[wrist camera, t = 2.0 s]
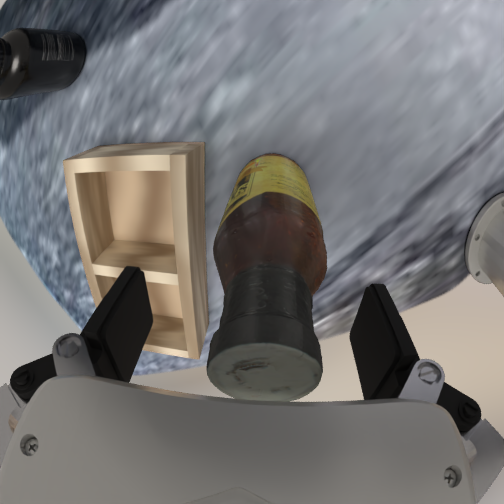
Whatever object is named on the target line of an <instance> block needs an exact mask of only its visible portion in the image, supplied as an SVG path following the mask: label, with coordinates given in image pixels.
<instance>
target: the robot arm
mask: <svg viewBox="0 0 504 504" xmlns="http://www.w3.org/2000/svg"><path fill="white" fill-rule="evenodd" d="M465 261H466V266H467V269H468V271H469V273H470V274H471V275H472V276H473V278H474V279H475V280H477V281H478V282H480V283H483V284H490V283H493V284H494V285H495V286H496V287H497V289H498V290H499V291H500V292H501V294H502V295H503V296H504V193H501V194H499V195H497V196H495V197H493V198H492V199H491V200H490V201H489V202H488V203H487V204H486V205H485V206H484V207H483V208H482V210H481V211H480V213H479V214H478V216H477V217H476V219H475V221H474V223H473V225H472V227H471V230H470V232H469V235H468V239H467V243H466V250H465ZM152 325H153V314H152V309H151V305H150V300H149V295H148V290H147V285H146V279H145V274H144V271H141V269H140V267H135V266H126V267H125V268H124V269H123V271H122V272H121V274H120V275H119V277H118V278H117V279H116V281H115V282H114V284H113V285H112V287H111V288H110V290H109V291H108V293H107V294H106V295H105V296H104V298H103V299H102V301H101V302H100V304H99V305H98V307H97V308H96V310H95V311H94V313H93V314H92V316H91V318H90V319H89V321H88V322H87V324H86V326H85V327H84V329H83V330H82V332H81V334H80V335H78V334H76V333H69V334H65V335H63V336H61V337H60V338H58V339H57V340H56V342H55V343H54V345H53V350H52V352H53V353H52V354H50V355H47V356H45V357H42V358H40V359H37V360H35V361H33V362H30V363H28V364H25V365H23V366H21V367H19V368H17V369H16V370H15V371H14V372H13V374H12V376H11V379H10V384H9V385H7V384H6V383H5V384H4V385H3V386H1V387H0V504H477V503H478V502H479V501H480V499H481V498H482V497H483V496H484V494H485V493H486V492H487V490H488V489H489V487H490V486H491V485H492V483H493V482H494V480H495V479H496V477H497V476H498V474H499V473H500V471H501V470H502V468H503V467H504V439H503V437H502V436H501V435H500V434H499V433H498V432H497V431H496V430H495V428H494V427H493V426H492V425H491V424H490V423H489V422H488V421H487V420H486V419H484V420H482V419H481V409H480V407H479V405H478V404H477V402H476V401H474V400H473V399H471V398H470V397H468V396H467V395H465V394H463V393H461V392H460V391H458V390H457V389H455V388H453V387H451V386H450V385H448V384H447V383H445V382H444V380H445V374H444V371H443V369H442V367H441V366H440V365H439V364H438V363H436V362H435V361H433V360H430V359H421V360H420V358H419V356H418V353H417V351H416V349H415V347H414V344H413V342H412V340H411V337H410V335H409V333H408V331H407V329H406V326H405V324H404V322H403V320H402V318H401V316H400V315H399V312H398V310H397V308H396V306H395V304H394V302H393V300H392V298H391V296H390V294H389V292H388V290H387V288H386V286H385V285H384V284H371V285H370V287H367V288H366V289H365V292H364V295H363V298H362V301H361V304H360V307H359V309H358V312H357V315H356V318H355V320H354V323H353V326H352V328H351V331H350V342H351V346H352V350H353V354H354V358H355V362H356V366H357V370H358V374H359V379H360V383H361V388H362V392H363V396H364V400H357V401H333V402H282V401H259V400H244V399H231V398H222V397H212V396H203V395H195V394H188V393H182V392H176V391H169V390H164V389H158V388H153V387H148V386H142V385H137V384H132V383H129V382H130V379H131V377H132V374H133V372H134V369H135V367H136V364H137V361H138V359H139V357H140V354H141V352H142V349H143V347H144V344H145V342H146V339H147V337H148V335H149V332H150V330H151V328H152Z"/></svg>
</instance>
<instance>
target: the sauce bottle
mask: <svg viewBox="0 0 504 504" xmlns="http://www.w3.org/2000/svg"><path fill="white" fill-rule="evenodd" d="M213 254H214V260H215V263H216V266H217V270H218V273H219V276H220V280H221V283H222V286H223V289H224V294H225V295H224V308H223V312H222V316H221V319H220V326H219V329H218V330H217V331H216V332H215V333H214V334H213V338H212V340H211V343H210V350H209V356H208V361H207V375H208V377H209V379H210V381H211V382H212V383H213V385H214V386H215V387H217V388H218V389H219V390H220V391H222V392H223V393H225V394H227V395H229V396H231V397H233V398H235V399H244V400H259V401H282V402H290V401H292V400H297V399H300V398H302V397H304V396H306V395H308V394H309V393H310V392H312V391H313V390H314V389H315V388H316V387H317V386H318V384H319V382H320V380H321V376H322V373H323V366H322V356H321V349H320V344H319V342H318V339H317V337H316V335H315V333H314V327H313V320H312V308H313V305H312V296H313V295H314V293H315V292H316V291H317V290H318V289H319V287H320V285H321V283H322V281H323V279H324V277H325V274H326V271H327V255H326V254H327V252H326V248H325V244H324V240H323V230H322V226H321V222H320V219H319V216H318V212H317V209H316V206H315V203H314V199H313V196H312V193H311V190H310V187H309V184H308V181H307V178H306V176H305V174H304V172H303V171H302V169H301V168H299V165H298V164H296V163H295V161H293V160H291V159H289V158H287V157H285V156H282V155H279V154H265V155H262V156H259V157H257V158H256V159H253V160H251V161H250V162H249V163H248V164H247V165H246V166H245V167H244V168H243V170H242V171H241V173H240V175H239V177H238V179H237V182H236V184H235V187H234V189H233V192H232V194H231V197H230V199H229V202H228V204H227V207H226V209H225V212H224V215H223V218H222V221H221V223H220V226H219V229H218V231H217V234H216V237H215V241H214V246H213Z"/></svg>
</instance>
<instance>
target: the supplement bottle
mask: <svg viewBox="0 0 504 504" xmlns="http://www.w3.org/2000/svg"><path fill="white" fill-rule="evenodd" d="M84 58H85V48H84V43H83V41H82V39H81V38H80V37H79V36H78V35H77V34H75V33H72V32H66V31H58V30H48V29H35V28H17V29H14V30H11V31H10V32H8V33H6V34H5V35H4V36H3V37H2V38H0V100H8V99H13V98H18V97H23V96H28V95H34V94H39V93H46V92H52V91H58V90H62V89H64V88H66V87H67V86H69V85H70V84H71V83H72V82H73V81H74V80H75V79H76V77H77V76H78V74H79V72H80V70H81V68H82V66H83V62H84Z"/></svg>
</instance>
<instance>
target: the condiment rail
mask: <svg viewBox="0 0 504 504" xmlns="http://www.w3.org/2000/svg"><path fill="white" fill-rule="evenodd" d="M63 165H64V173H65V181H66V187H67V193H68V199H69V205H70V210H71V215H72V220H73V225H74V230H75V234H76V239H77V243H78V247H79V251H80V255H81V259H82V262H83V266H84V270H85V273H86V277H87V280H88V283H89V287H90V290H91V293H92V296H93V299H94V302H95V305H96V308H97V307H98V305H99V304H100V302H101V301H102V299H103V298H104V296H105V295H106V294H107V293H108V291H109V290H110V288H111V287H112V285H113V284H114V282H115V281H116V279H117V278H118V277H119V275H120V274H121V272H122V271H123V269H124V268H125V267H126V266H135V267H140V269H141V271H144V274H145V279H146V285H147V290H148V295H149V300H150V305H151V309H152V314H153V325H152V328H151V330H150V332H149V335H148V337H147V339H146V342H145V344H144V347H143V349H142V350H146V351H151V352H156V353H162V354H167V355H173V356H179V357H186V358H192V359H200V355H201V351H202V347H203V344H204V340H205V336H206V332H207V329H208V325H209V314H208V295H207V272H206V243H205V142H158V143H134V144H117V145H104V146H97V147H95V148H92V149H89V150H87V151H84V152H82V153H79V154H77V155H75V156H72V157H70V158H68V159H65V160H63Z"/></svg>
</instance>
